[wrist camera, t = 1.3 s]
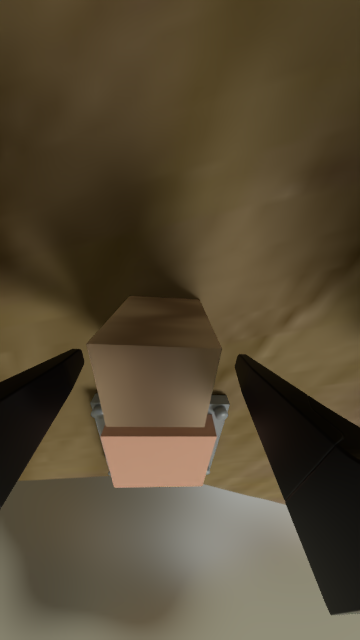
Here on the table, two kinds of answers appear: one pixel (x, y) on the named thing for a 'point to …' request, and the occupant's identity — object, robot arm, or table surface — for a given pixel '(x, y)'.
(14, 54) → the table surface
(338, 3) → the table surface
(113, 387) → the tan wooden block
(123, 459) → the brick base
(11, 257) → the table surface
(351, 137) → the table surface
